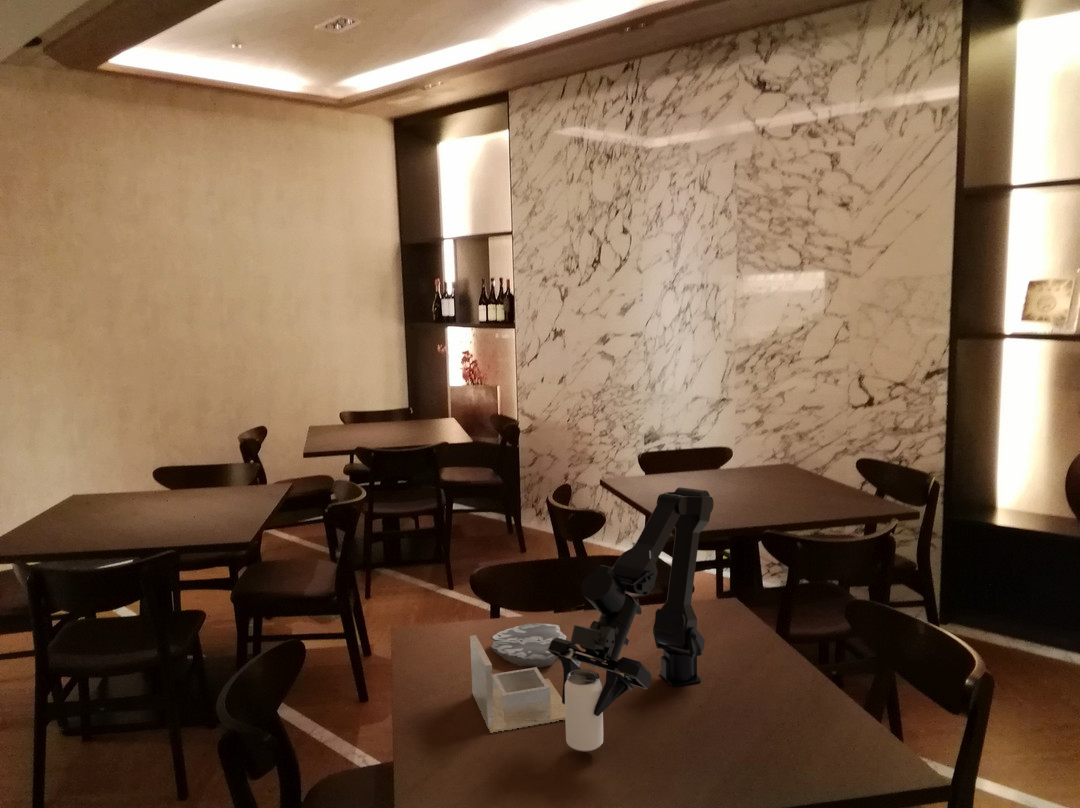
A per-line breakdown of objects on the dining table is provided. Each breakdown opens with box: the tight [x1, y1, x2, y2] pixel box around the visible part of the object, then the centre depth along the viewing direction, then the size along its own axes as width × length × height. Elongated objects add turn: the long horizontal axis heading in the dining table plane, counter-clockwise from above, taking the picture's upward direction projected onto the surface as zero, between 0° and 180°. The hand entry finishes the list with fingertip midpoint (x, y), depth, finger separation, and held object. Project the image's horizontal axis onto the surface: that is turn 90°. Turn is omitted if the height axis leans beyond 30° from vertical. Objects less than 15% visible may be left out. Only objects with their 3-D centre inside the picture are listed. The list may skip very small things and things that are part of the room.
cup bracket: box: [469, 634, 565, 734], centre depth 155 cm, size 16×16×13 cm
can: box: [564, 668, 604, 752], centre depth 137 cm, size 6×6×12 cm
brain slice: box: [490, 623, 567, 668], centre depth 179 cm, size 20×17×3 cm
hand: (579, 709), depth 136 cm, fingers closed on can, 6 cm apart
